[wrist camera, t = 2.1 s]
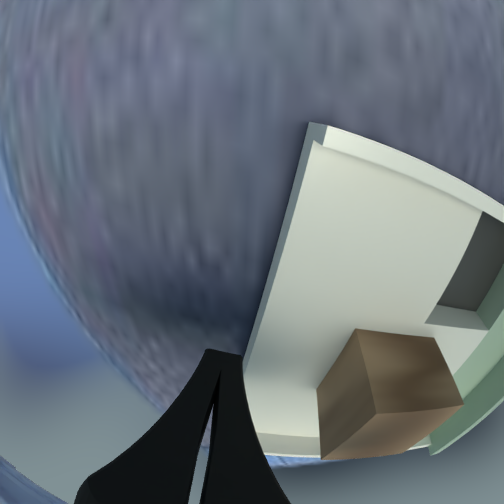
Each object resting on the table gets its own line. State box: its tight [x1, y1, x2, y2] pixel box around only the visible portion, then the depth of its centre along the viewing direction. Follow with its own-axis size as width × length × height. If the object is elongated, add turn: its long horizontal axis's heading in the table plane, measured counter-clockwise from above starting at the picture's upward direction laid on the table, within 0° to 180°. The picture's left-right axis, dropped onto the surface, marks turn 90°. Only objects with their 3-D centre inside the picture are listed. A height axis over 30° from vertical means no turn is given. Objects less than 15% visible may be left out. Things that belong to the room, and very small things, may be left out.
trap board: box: [243, 122, 504, 457], centre depth 11 cm, size 18×18×4 cm
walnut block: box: [316, 328, 464, 460], centre depth 10 cm, size 4×4×4 cm
